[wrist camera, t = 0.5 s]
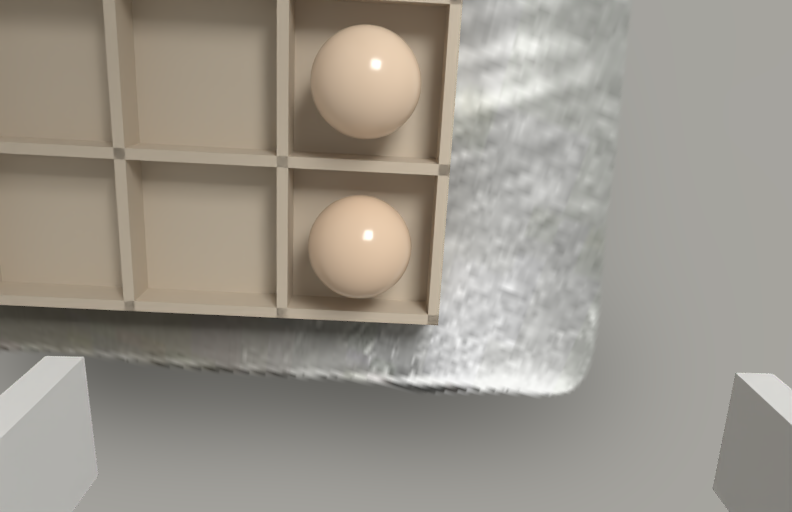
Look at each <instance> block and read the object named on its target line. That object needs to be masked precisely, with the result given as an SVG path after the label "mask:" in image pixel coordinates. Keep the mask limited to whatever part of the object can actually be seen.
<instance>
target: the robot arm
mask: <svg viewBox="0 0 792 512" xmlns="http://www.w3.org/2000/svg"><path fill="white" fill-rule="evenodd" d="M97 476H98V470H97V461H96V453H95V444H94V436H93V428H92V420H91V411H90V402H89V394H88V385H87V377H86V369H85V360H84V357H68V356H45V357H44V358H43V359H42V360H40V361H39V362H38V363H37V364H36V365H35V366H33V367H32V368H31V369H30V370H29V371H28V372H26V374H24V375H23V376H22V377H21V378H20V379H18V380H17V381H16V382H15V383H14V384H13V385H12V386H10V387H9V388H8V389H7V390H6V391H5V392H3V393H2V394H1V395H0V512H73V511H74V509H75V508H76V506H77V505H78V503H79V502H80V501H81V499H82V498H83V496H84V495H85V493H86V492H87V490H88V489H89V488H90V486H91V485H92V483H93V482H94V481H95V479H96V478H97ZM713 490H714V491H715V493H716V494H717V496H718V497H719V498H720V500H721V501H722V502H723V504H724V505H725V506H726V508H727V509H728V510H729V512H792V389H791V388H790V387H788V386H787V385H786V384H785V383H784V382H782V381H781V380H780V379H779V378H778V377H776V376H775V375H774V374H762V373H735V378H734V383H733V389H732V394H731V399H730V404H729V409H728V414H727V419H726V424H725V429H724V434H723V439H722V444H721V449H720V454H719V459H718V464H717V469H716V475H715V480H714V484H713Z"/></svg>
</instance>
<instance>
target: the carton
mask: <svg viewBox="0 0 792 512" xmlns="http://www.w3.org/2000/svg"><path fill="white" fill-rule="evenodd" d="M462 2H463V0H0V305H15V306H36V307H58V308H79V309H101V310H122V311H144V312H165V313H187V314H208V315H230V316H251V317H273V318H294V319H316V320H337V321H359V322H380V323H402V324H423V325H438V317H439V304H440V291H441V278H442V265H443V252H444V238H445V225H446V212H447V199H448V186H449V173H450V159H451V146H452V133H453V120H454V107H455V94H456V81H457V67H458V54H459V41H460V28H461V15H462ZM361 24H370V25H377V26H380V27H384V28H386V29H389V30H391V31H392V32H394V33H396V34H397V35H398V36H400V37H401V38H402V39H403V40H404V41H405V42H406V43H407V44H408V45H409V47H410V48H411V49H412V51H413V53H414V54H415V56H416V58H417V61H418V63H419V67H420V71H421V78H422V87H421V94H420V98H419V101H418V104H417V106H416V108H415V110H414V112H413V114H412V115H411V117H410V118H409V119H408V121H407V122H406V123H405V124H404V125H403V126H401V127H400V128H399V129H398V130H396V131H394V132H393V133H391V134H389V135H386V136H384V137H380V138H376V139H357V138H353V137H349V136H347V135H344V134H342V133H340V132H339V131H337V130H335V129H334V128H333V127H331V126H330V125H329V124H328V123H327V122H326V121H325V120H324V118H323V117H322V116H321V114H320V113H319V111H318V110H317V108H316V105H315V103H314V100H313V97H312V93H311V86H310V77H311V69H312V65H313V62H314V59H315V57H316V55H317V53H318V51H319V50H320V48H321V47H322V45H323V44H324V43H325V42H326V41H327V40H328V39H329V38H330V37H331V36H332V35H334V34H335V33H337V32H339V31H340V30H343V29H345V28H347V27H350V26H354V25H361ZM353 195H366V196H372V197H375V198H378V199H381V200H383V201H385V202H386V203H388V204H389V205H391V206H392V207H394V208H395V209H396V210H397V211H398V212H399V214H400V215H401V216H402V218H403V219H404V221H405V222H406V225H407V227H408V229H409V233H410V236H411V245H412V250H411V257H410V261H409V264H408V267H407V269H406V271H405V273H404V274H403V276H402V277H401V279H400V280H399V281H398V282H397V283H396V284H395V285H394V286H393V287H392V288H390V289H389V290H388V291H386V292H384V293H382V294H380V295H377V296H374V297H370V298H359V299H357V298H350V297H345V296H342V295H340V294H338V293H336V292H334V291H332V290H331V289H329V288H328V287H327V286H325V285H324V284H323V283H322V282H321V281H320V279H319V278H318V277H317V275H316V274H315V272H314V270H313V268H312V266H311V263H310V260H309V255H308V239H309V234H310V230H311V228H312V225H313V223H314V221H315V220H316V218H317V217H318V215H319V214H320V213H321V212H322V211H323V210H324V209H325V208H326V207H327V206H328V205H330V204H331V203H333V202H335V201H336V200H339V199H341V198H344V197H347V196H353Z"/></svg>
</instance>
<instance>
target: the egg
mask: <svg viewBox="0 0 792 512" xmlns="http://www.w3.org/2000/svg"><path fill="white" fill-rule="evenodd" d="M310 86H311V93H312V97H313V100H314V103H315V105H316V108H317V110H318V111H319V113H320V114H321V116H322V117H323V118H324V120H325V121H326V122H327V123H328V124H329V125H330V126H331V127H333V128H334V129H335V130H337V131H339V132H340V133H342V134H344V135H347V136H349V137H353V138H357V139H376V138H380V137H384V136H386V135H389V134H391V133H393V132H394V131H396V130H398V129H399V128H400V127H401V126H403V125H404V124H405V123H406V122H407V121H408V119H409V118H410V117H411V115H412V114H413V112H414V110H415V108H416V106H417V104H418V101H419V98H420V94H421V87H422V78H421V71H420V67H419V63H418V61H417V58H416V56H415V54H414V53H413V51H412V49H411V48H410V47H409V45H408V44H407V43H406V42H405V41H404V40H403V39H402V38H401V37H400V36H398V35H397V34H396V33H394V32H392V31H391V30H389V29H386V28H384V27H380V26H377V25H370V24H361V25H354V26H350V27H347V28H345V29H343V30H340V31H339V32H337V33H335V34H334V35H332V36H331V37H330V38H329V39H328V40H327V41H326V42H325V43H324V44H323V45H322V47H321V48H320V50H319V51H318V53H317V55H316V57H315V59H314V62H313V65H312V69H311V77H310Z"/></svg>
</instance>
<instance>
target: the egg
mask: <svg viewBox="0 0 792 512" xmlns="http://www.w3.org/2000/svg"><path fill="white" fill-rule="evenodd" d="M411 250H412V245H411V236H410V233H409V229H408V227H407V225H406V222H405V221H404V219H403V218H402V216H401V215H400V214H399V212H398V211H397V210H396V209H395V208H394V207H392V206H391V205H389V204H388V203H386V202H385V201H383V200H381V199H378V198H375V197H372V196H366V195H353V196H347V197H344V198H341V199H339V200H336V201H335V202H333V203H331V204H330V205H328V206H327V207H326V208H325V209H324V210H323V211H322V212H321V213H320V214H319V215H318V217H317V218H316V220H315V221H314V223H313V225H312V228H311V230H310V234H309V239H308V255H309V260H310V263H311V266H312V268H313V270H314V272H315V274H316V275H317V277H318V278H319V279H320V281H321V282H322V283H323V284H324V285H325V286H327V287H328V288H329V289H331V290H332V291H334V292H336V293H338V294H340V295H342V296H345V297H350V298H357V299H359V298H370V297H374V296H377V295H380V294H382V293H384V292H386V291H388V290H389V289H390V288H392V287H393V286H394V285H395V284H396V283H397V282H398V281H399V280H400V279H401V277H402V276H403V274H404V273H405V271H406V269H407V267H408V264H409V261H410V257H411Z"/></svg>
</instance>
